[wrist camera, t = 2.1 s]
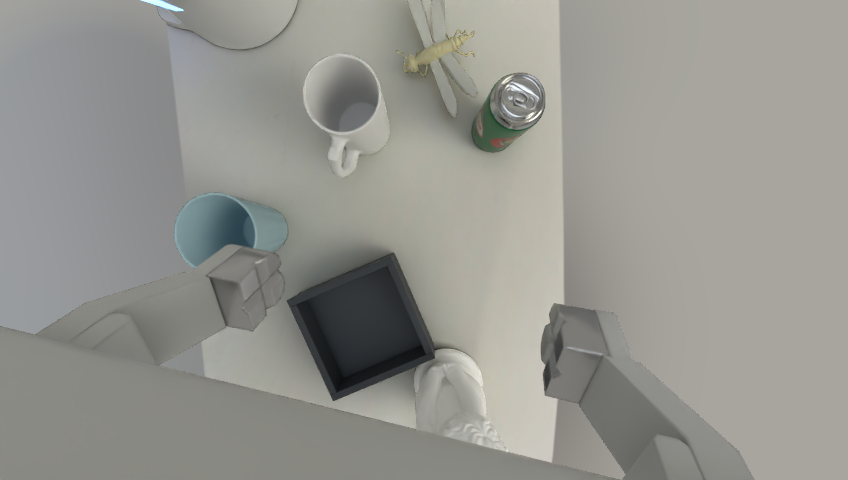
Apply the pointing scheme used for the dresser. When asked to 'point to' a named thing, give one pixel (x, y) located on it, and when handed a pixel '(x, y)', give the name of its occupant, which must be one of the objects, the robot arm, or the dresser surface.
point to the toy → (440, 52)
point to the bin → (362, 326)
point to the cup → (226, 226)
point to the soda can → (508, 111)
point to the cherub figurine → (453, 399)
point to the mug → (347, 109)
